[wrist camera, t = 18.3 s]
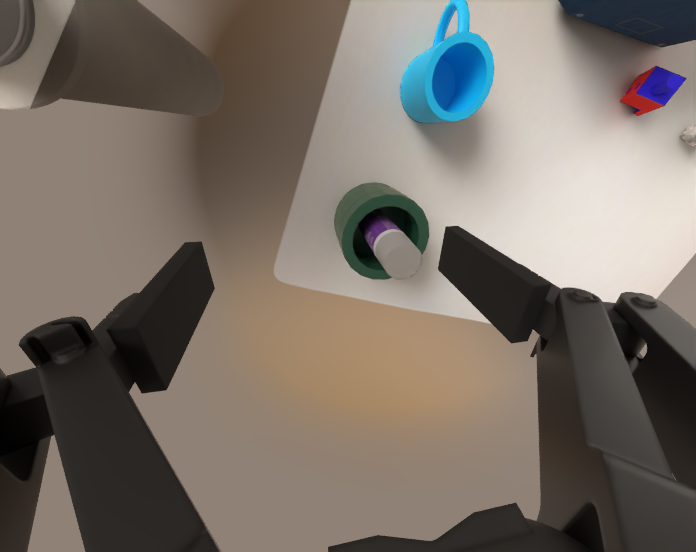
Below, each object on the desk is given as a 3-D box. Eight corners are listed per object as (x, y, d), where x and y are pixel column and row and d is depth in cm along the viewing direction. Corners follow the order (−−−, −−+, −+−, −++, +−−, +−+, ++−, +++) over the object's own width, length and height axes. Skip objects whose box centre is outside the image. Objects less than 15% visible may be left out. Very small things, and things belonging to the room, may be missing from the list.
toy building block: (630, 80, 43) (673, 56, 35) (657, 91, 42) (706, 69, 35) (612, 104, 44) (650, 86, 37) (638, 115, 43) (681, 99, 36)
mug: (450, 123, 40) (483, 122, 33) (397, 122, 39) (419, 120, 32) (469, 14, 34) (514, -16, 27) (407, 8, 33) (437, -25, 26)
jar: (318, 226, 44) (323, 246, 36) (370, 165, 41) (387, 173, 33) (371, 267, 49) (385, 293, 41) (420, 216, 46) (445, 234, 38)
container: (352, 218, 43) (376, 257, 30) (378, 202, 43) (413, 235, 30) (366, 241, 46) (394, 287, 33) (391, 226, 45) (429, 266, 32)
